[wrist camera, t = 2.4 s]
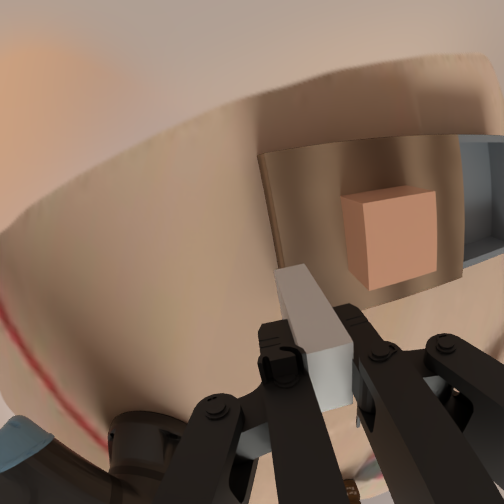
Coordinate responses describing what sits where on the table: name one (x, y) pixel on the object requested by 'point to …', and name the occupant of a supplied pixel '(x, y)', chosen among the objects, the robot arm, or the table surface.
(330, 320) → the robot arm
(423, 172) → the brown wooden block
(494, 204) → the box
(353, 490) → the utensil holder
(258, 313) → the table surface
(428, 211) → the salmon orange block
